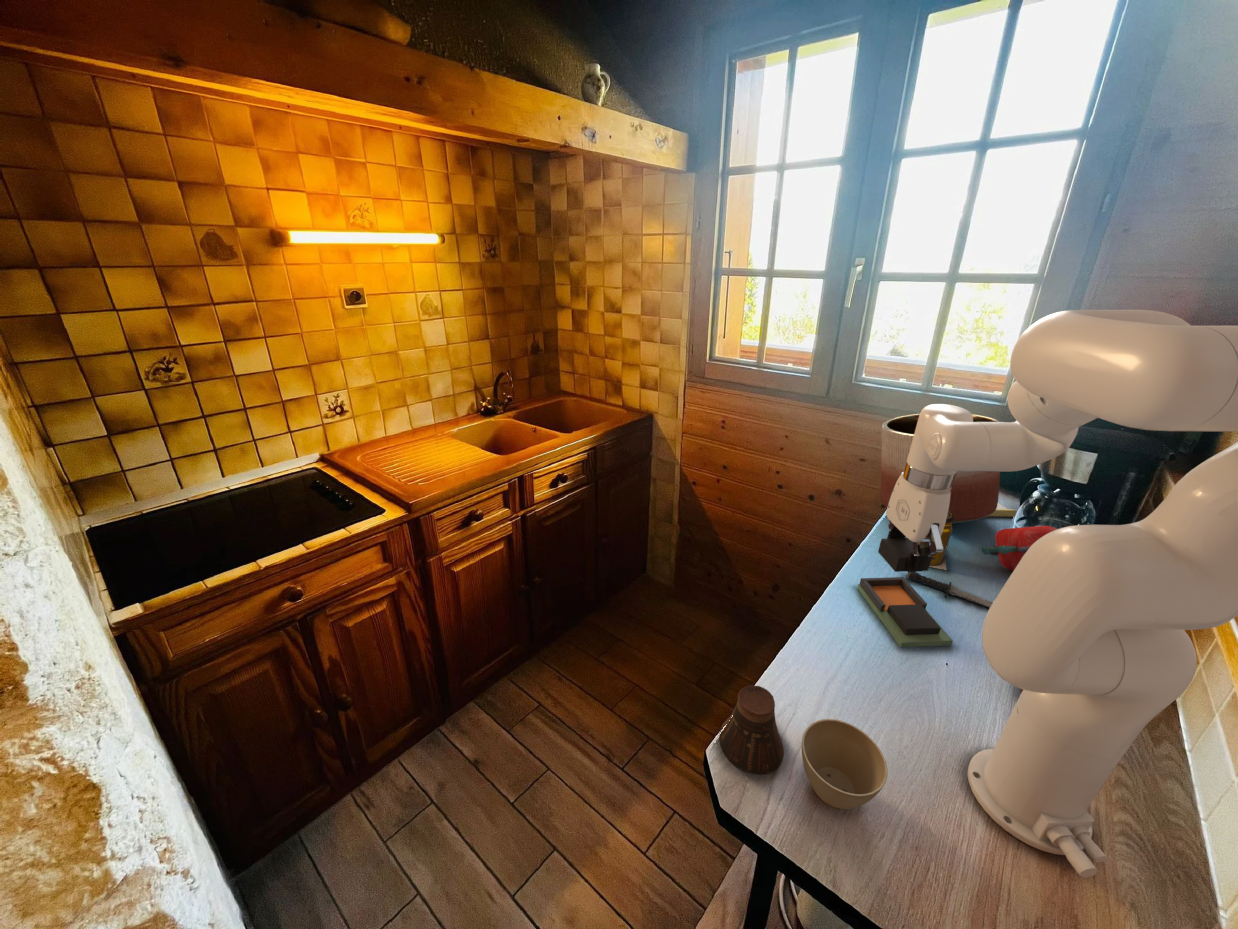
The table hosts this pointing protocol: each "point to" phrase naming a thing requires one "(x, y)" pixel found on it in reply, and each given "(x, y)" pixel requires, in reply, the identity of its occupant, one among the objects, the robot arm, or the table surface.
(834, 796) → the beige bowl
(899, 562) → the loose pad
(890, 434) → the planter
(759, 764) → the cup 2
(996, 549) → the toy
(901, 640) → the dock
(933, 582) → the knife
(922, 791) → the table surface
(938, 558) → the condiment
